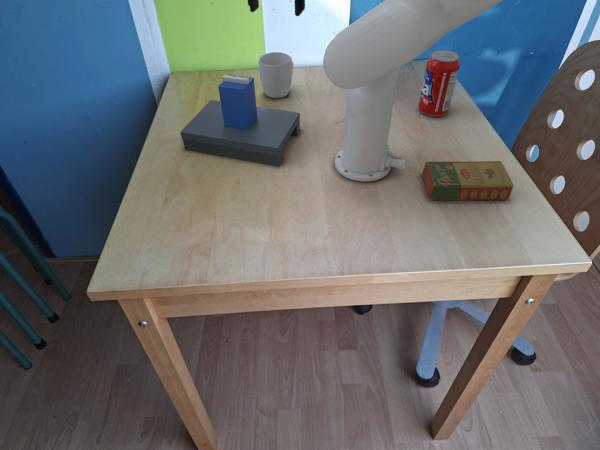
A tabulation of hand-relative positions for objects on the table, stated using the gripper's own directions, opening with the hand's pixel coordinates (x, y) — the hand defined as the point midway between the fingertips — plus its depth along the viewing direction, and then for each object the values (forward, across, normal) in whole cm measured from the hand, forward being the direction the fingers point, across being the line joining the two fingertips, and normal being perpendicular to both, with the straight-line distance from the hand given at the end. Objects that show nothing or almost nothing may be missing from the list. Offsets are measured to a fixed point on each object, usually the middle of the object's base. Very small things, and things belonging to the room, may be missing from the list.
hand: (276, 12), depth 87 cm
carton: (+28, +44, -10) cm, 53 cm away
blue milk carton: (+23, -8, -6) cm, 25 cm away
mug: (+28, -8, +21) cm, 36 cm away
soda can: (+28, +35, +21) cm, 50 cm away
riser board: (+28, -8, -6) cm, 30 cm away
